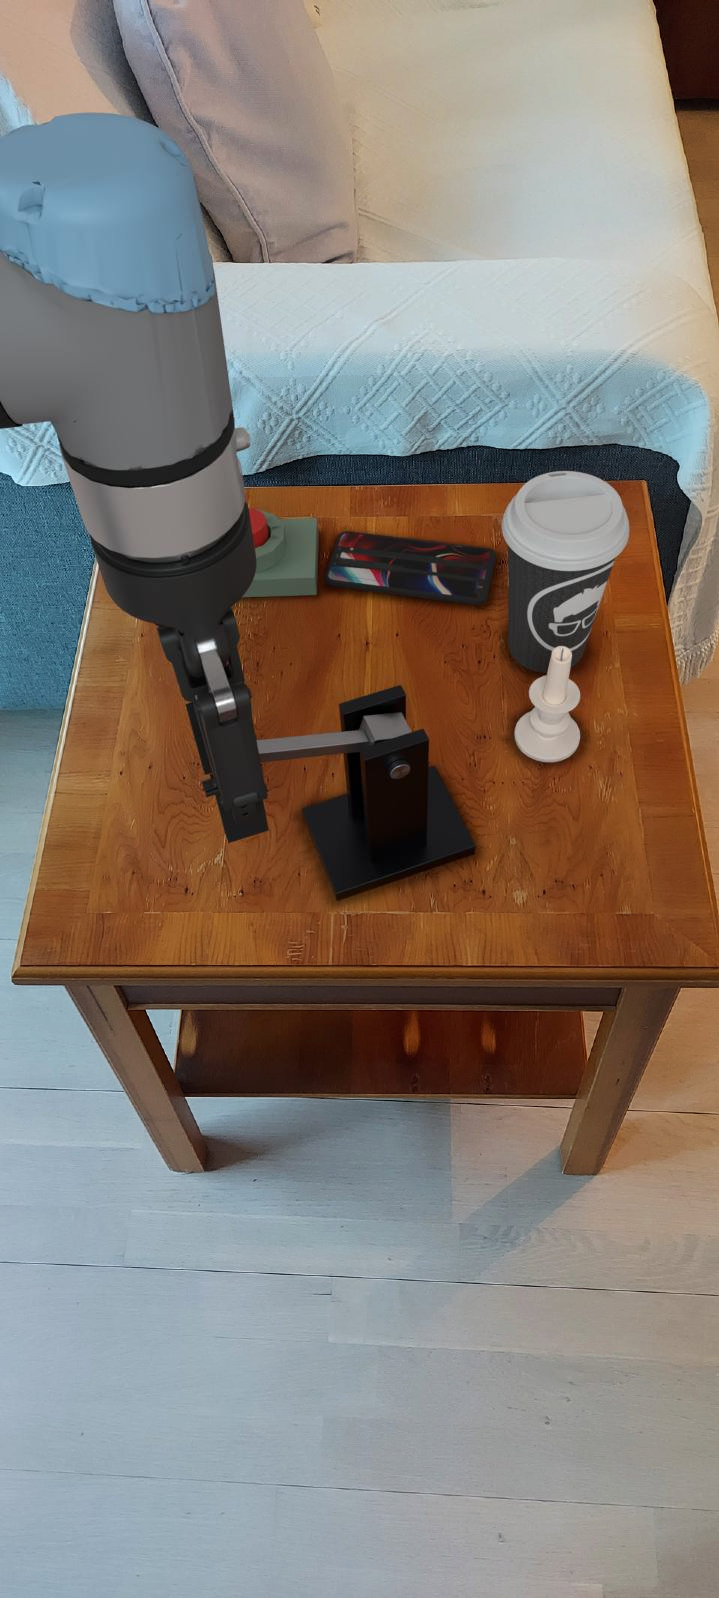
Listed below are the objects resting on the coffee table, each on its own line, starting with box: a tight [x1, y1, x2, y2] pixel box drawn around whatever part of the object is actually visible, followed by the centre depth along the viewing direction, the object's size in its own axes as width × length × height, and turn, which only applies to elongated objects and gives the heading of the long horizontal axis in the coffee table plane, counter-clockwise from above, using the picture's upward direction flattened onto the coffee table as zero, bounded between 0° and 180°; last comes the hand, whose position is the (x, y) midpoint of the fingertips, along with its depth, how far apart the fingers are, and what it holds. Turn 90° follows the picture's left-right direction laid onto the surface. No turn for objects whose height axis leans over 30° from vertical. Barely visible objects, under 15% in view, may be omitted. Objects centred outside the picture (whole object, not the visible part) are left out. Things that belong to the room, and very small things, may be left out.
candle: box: [513, 646, 581, 763], centre depth 76 cm, size 5×5×10 cm
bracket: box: [301, 684, 477, 902], centre depth 70 cm, size 11×8×14 cm
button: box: [249, 508, 268, 548], centre depth 90 cm, size 4×4×2 cm
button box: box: [242, 509, 320, 598], centre depth 92 cm, size 12×8×4 cm, turn 90°
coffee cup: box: [500, 470, 631, 674], centre depth 80 cm, size 10×10×15 cm
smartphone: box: [324, 530, 497, 606], centre depth 92 cm, size 7×1×15 cm
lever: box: [256, 712, 412, 764], centre depth 64 cm, size 13×5×2 cm, turn 110°
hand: (234, 797), depth 65 cm, fingers closed on lever, 5 cm apart
